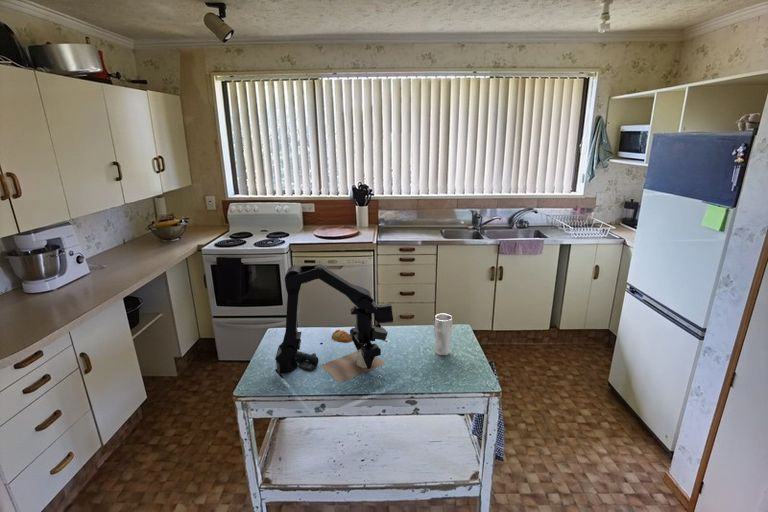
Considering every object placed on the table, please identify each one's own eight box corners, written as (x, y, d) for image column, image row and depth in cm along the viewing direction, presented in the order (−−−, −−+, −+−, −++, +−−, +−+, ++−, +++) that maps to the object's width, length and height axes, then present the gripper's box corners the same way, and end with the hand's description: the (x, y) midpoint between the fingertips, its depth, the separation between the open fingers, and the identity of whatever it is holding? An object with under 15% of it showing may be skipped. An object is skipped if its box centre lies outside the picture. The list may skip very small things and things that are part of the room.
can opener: (323, 367, 145) (322, 353, 144) (310, 376, 140) (309, 362, 138) (290, 353, 155) (289, 340, 153) (276, 361, 149) (275, 348, 148)
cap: (373, 367, 142) (372, 356, 141) (356, 367, 142) (356, 356, 141) (373, 358, 148) (373, 348, 147) (357, 358, 148) (357, 348, 147)
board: (339, 386, 134) (339, 382, 133) (320, 367, 144) (320, 364, 144) (386, 366, 145) (386, 363, 145) (365, 350, 156) (365, 348, 155)
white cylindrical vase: (454, 354, 153) (456, 319, 148) (438, 357, 150) (440, 322, 146) (445, 345, 159) (446, 312, 155) (430, 349, 156) (431, 315, 152)
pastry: (356, 341, 164) (356, 333, 163) (345, 348, 159) (345, 339, 158) (340, 334, 169) (340, 326, 168) (329, 341, 164) (329, 332, 163)
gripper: (394, 331, 135) (394, 370, 139) (376, 310, 152) (377, 346, 156) (364, 336, 131) (365, 377, 136) (348, 314, 148) (350, 351, 152)
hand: (365, 361), depth 145 cm, fingers open, 9 cm apart
